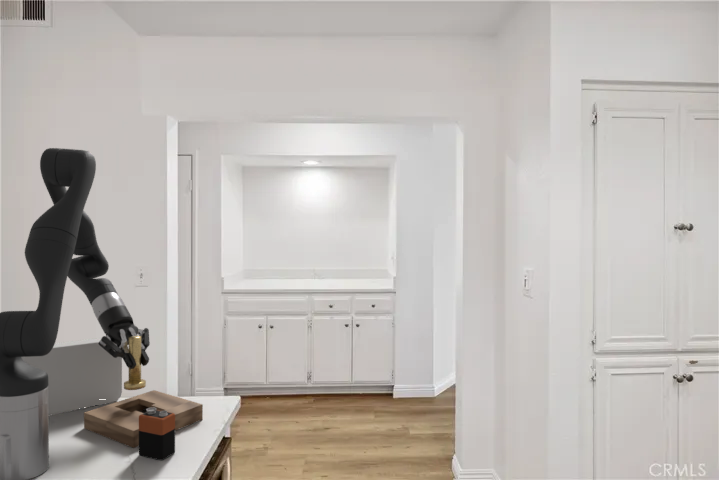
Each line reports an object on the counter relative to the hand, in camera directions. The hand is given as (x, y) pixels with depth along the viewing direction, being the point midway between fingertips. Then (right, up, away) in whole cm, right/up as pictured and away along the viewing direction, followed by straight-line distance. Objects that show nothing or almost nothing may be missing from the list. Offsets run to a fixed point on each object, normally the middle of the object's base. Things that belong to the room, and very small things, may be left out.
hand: (140, 365), depth 128 cm
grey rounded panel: (-25, -14, +8) cm, 30 cm away
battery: (+11, -16, -17) cm, 26 cm away
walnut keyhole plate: (+2, -15, -1) cm, 15 cm away
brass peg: (-2, -6, +1) cm, 6 cm away
